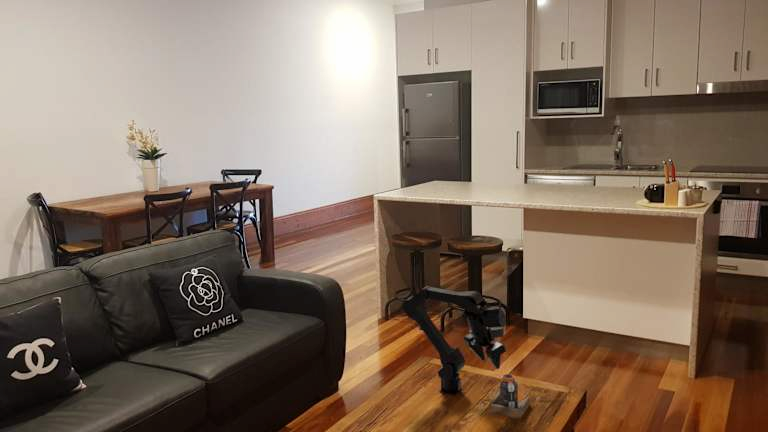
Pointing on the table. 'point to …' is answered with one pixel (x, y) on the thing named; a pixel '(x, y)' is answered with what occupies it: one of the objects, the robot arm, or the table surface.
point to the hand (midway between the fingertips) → (490, 364)
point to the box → (508, 411)
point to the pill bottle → (509, 391)
